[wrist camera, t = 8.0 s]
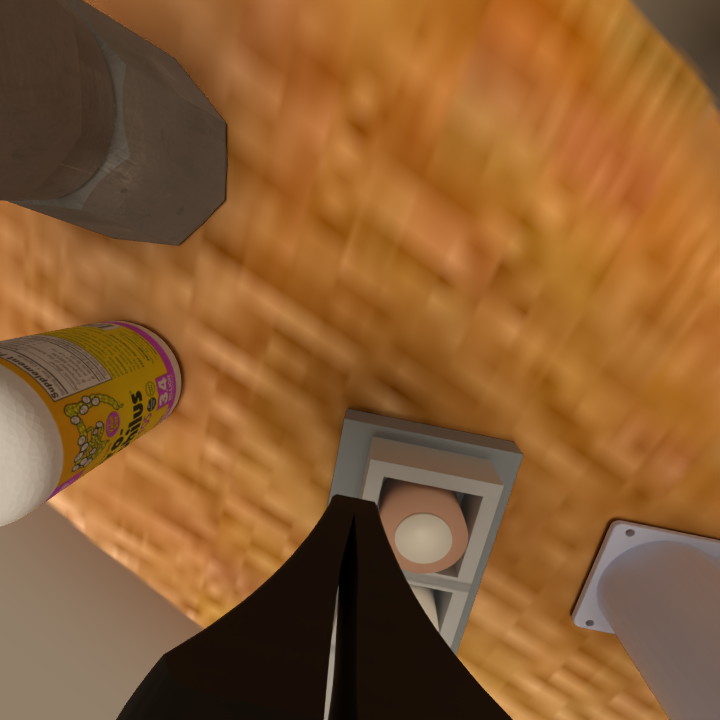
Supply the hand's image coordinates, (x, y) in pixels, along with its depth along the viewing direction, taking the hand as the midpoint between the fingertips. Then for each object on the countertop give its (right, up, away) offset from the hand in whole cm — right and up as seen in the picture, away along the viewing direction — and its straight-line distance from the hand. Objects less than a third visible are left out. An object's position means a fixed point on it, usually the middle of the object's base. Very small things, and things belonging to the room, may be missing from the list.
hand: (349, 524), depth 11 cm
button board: (+3, -8, +13) cm, 15 cm away
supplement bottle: (-13, +4, +11) cm, 18 cm away
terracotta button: (+4, -3, +10) cm, 11 cm away
